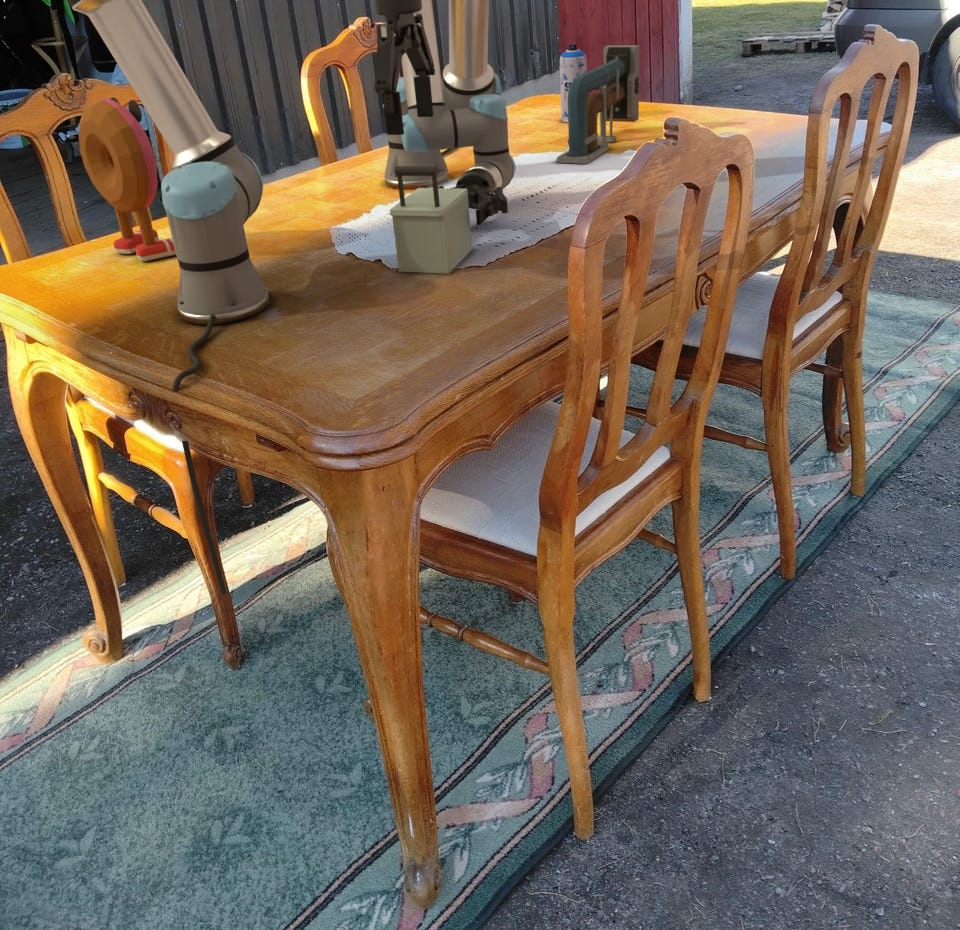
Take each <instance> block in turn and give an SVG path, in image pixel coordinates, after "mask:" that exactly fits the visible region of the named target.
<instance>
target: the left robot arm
mask: <svg viewBox="0 0 960 930" xmlns="http://www.w3.org/2000/svg"><path fill="white" fill-rule="evenodd" d="M66 1H67V2H68V4H69V6H70V7H71V8H72V10H73V11H76V12H78V13H81V14H84V15H86V16H87V17H88V18H89V20H90V21H91V23H92V25H93V26H94V28H95V30H96V31H97V33H98V34H99V36H100V37H101V39H102V41H103V43H104V44H105V46H106V48H107V49H108V50H109V52H110V53H111V55H112V57H113V58H114V60H115V62H116V63H117V65H118V67H119V68H120V70H121V71H122V73H123V75H124V76H125V78H126V79H127V81H128V83H129V85H130V87H131V88H132V90H133V91H134V93H135V94H136V96H137V97H138V99H139V101H140V102H141V104H142V106H143V107H144V109H145V110H146V113H147V114H148V116H149V117H150V119H151V120H152V122H153V123H154V125H155V127H156V128H157V131H158V132H159V133H160V135H161V137H162V138H163V140H164V142H165V143H166V144H167V146H168V148H169V150H170V151H171V153H172V161H171V162H172V163H171V166H170V168H171V171H169V172H168V173H167V174H166V175H165V176H164V177H163V178H162V180H161V183H160V186H161V187H160V190H161V199H162V206H163V208H164V210H165V214H166V218H167V222H168V226H169V230H170V231H169V232H170V234H171V238H172V239H173V243H174V247H175V251H176V255H175V256H176V258H177V262H178V266H179V283H178V294H177V310H178V314H179V318H180V319H182V320H183V321H184V322H186V323H189V324H193V325H202V326H203V325H204V326H205V325H206V328H205V331H204V332H203V334H202V335H201V336H200V337H199V338H198V339H196V340H195V341H194V342H193V343H192V344H190V346H189V347H188V349H187V355H188V358H189V359H190V360H191V361H192V363H193V366H192V367H190V368H187V369H184V370H183V371H181V372H180V373H179V374H177V376H175V378H174V380H173V384H172V389H171V391H172V393H177V392H178V391H180V385H181V383H182V381H183V379H185V378H186V377H189V376H190V375H194V374H196V373H197V372H198V371H199V370H200V367H201V361H200V360H199V358H198V357H197V355H196V354H195V350H196V349H197V348H198V347H199V346H201V345H202V344H203V343H204V342H205V341H206V340H207V339H209V337H210V335H211V333H212V330H213V327H214V325H222V324H230V323H233V322H239V321H241V320H245V319H248V318H251V317H253V316H256V315H258V314H260V312H263V311H264V310H265V309H266V308H267V307H268V306H269V305H270V296H269V291H268V289H267V287H266V284H265V283H264V282H263V280H262V278H261V276H260V274H259V272H258V270H257V269H256V267H255V265H254V264H253V262H252V260H251V257H250V251H249V246H248V241H247V236H246V232H245V227H244V225H245V224H246V222H247V221H248V220H249V219H250V218H251V217H252V216H253V215H254V214H255V213H256V211H257V210H258V207H259V206H260V204H261V201H262V197H263V195H264V193H263V192H264V181H263V176H262V173H261V171H260V169H259V167H258V165H257V164H256V163H255V161H254V160H253V159H252V158H251V157H249V155H247V154H246V153H243V152H241V151H240V149H239V147H238V146H237V144H236V142H235V141H234V139H233V137H232V136H231V135H230V134H228V133H225V132H223V131H222V132H221V131H220V130H218V129H217V127H216V125H215V123H214V122H213V121H212V118H211V117H210V115H209V113H208V112H207V110H206V108H205V106H204V105H203V104H202V101H201V100H200V98H199V97H198V95H197V93H196V91H195V90H194V88H193V86H192V85H191V83H190V82H189V80H188V78H187V77H186V74H185V73H184V71H183V70H182V68H181V66H180V64H179V62H178V60H177V59H176V58H175V55H174V54H173V52H172V50H171V48H170V47H169V45H168V43H167V42H166V40H165V38H164V37H163V35H162V33H161V32H160V30H159V29H158V27H157V25H156V23H155V21H154V20H153V17H152V15H151V14H150V13H149V11H148V9H147V8H146V6H145V4H144V3H143V1H142V0H66ZM373 3H374V11H375V13H376V14H377V15H378V16H383V17H384V18H385V19H384V21H385V22H384V23H383V24H381V23H380V24H376V39H377V41H376V58H375V75H374V90H375V93H376V94H382V103H383V104H384V108H383V111H384V112H383V113H384V119H385V127H386V136H388V135H403V134H404V127H403V118H402V109H401V100H400V92H396V91H397V85H398V79H399V78H400V72H401V68H402V56H403V55H404V54H405V53H406V54H407V56H408V58H409V61H410V63H411V65H412V67H413V69H414V71H415V74H416V75H417V76H419V77H414V86H415V96H416V105H417V115H418V117H433V116H434V115H433V104H432V94H431V83H430V76H429V75H435V69H434V62H433V58H432V55H431V51H430V48H429V44H428V40H427V37H426V33H425V30H424V25H423V17H422V14H413V13H415V12H419V11H420V10H421V9H422V0H373ZM427 61H428V62H427ZM383 104H382V105H383ZM181 444H182V448H183V454H184V458H185V463H186V467H187V472H188V475H189V479H190V483H191V487H192V493H193V496H194V500H195V503H196V507H197V510H198V514H199V517H200V522H201V525H202V528H203V532H204V536H205V539H206V543H207V546H208V550H209V554H210V558H211V561H212V564H213V565H212V566H213V568H214V572H215V576H216V579H217V583H218V587H219V590H220V594H221V595H226V594H227V589H226V588H227V587H226V585H225V580H224V577H223V574H222V569H221V566H220V561H219V558H218V554H217V550H216V546H215V543H214V539H213V536H212V533H211V529H210V526H209V525H210V524H209V522H208V517H207V514H206V511H205V507H204V503H203V499H202V495H201V491H200V487H199V484H198V483H199V482H198V479H197V475H196V471H195V466H194V462H193V457H192V454H191V448H190V442H189V440H181Z"/></svg>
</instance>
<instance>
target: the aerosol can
mask: <svg viewBox="0 0 960 930" xmlns="http://www.w3.org/2000/svg"><path fill="white" fill-rule="evenodd" d="M586 72H588V63H587V55H586V54H585V52H584V51H583V50H581V49H579V48H578V44H577V43H574V44H568V48H567V49H566V50H565V51H563V52H562V53H561V55H560V56H559V79H560V81H559V83H560V84H559V85H560V113H561V115H560V116H561V117H560V121H561V122H563V123H568V91H569V88H570V85H571V84H572V82H573V81H574V80H575V79H576V78H577V77H578V76H579V75H581V74H584V73H586Z"/></svg>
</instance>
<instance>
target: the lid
mask: <svg viewBox="0 0 960 930" xmlns="http://www.w3.org/2000/svg"><path fill="white" fill-rule="evenodd" d="M395 175H396V176H397V179H398V187H399V188H398V195H399V202H398V203H396V204H395V205H394V206H392V207H391V208H390V209H389V212H390V216H391V217H392V216H435V217H442V216H443V215H444V214H446V213H447V212H448V211H449V210H450V209H451V208H453V207H454V206H455V205H456V204H457V203H458V202H459V201H461V200H462V199H463V198H464V197H465V196H466V195H468V193H467V189H453V187H448V188H445V187H444V188H438V187H439V184H438V182H437V175H438V167H437V166H396V167H395ZM402 176H432V183H433V186H432V187H424V188H415V190H414V191H412V192H411V193H410V194H408V195H407V196H405V189H404V187H403V179H402Z"/></svg>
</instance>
